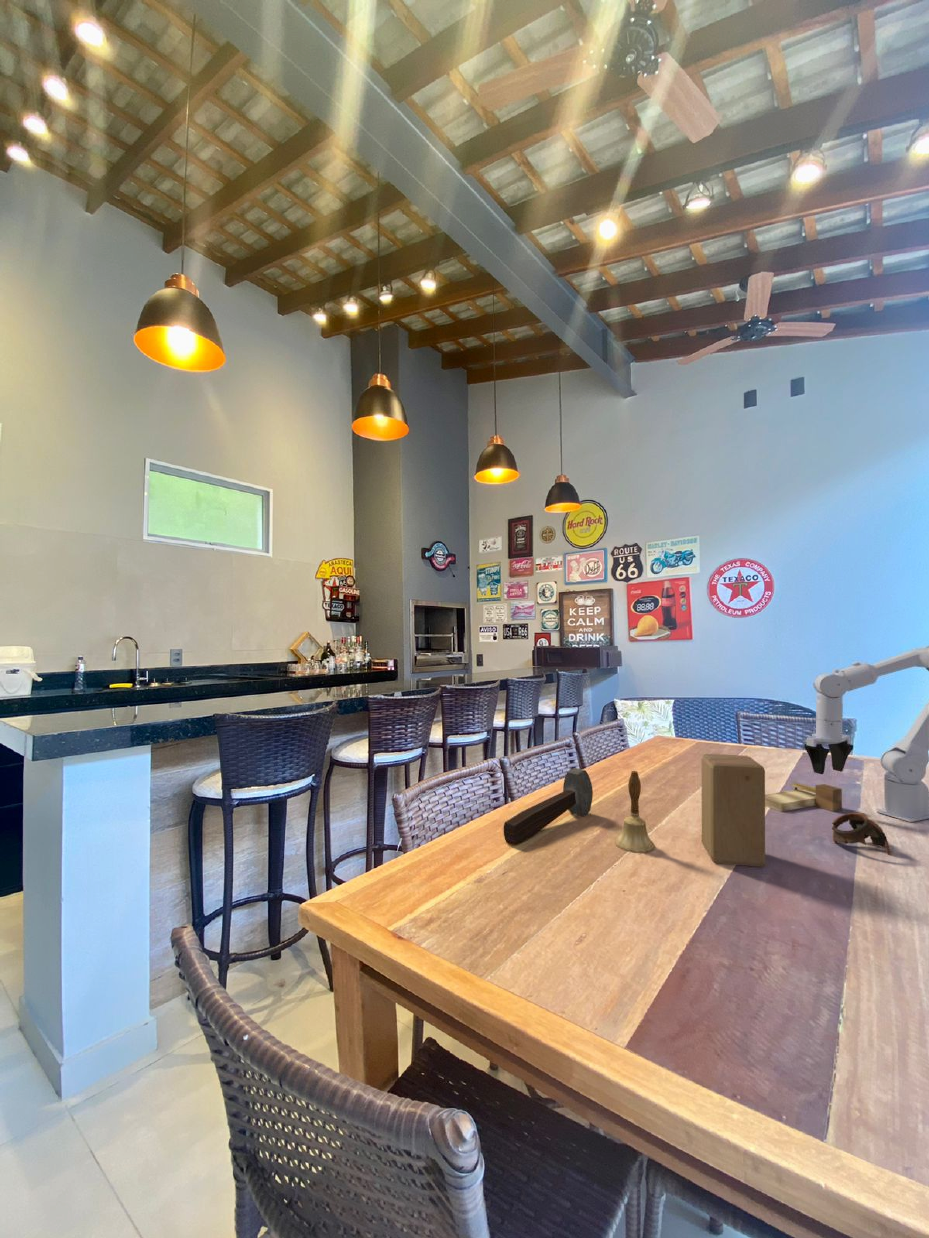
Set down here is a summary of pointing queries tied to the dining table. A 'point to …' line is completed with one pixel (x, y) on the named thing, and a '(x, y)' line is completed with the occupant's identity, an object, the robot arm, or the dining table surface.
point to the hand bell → (634, 823)
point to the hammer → (552, 808)
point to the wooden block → (733, 809)
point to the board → (790, 800)
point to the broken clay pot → (859, 831)
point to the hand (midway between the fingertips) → (828, 771)
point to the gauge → (824, 796)
